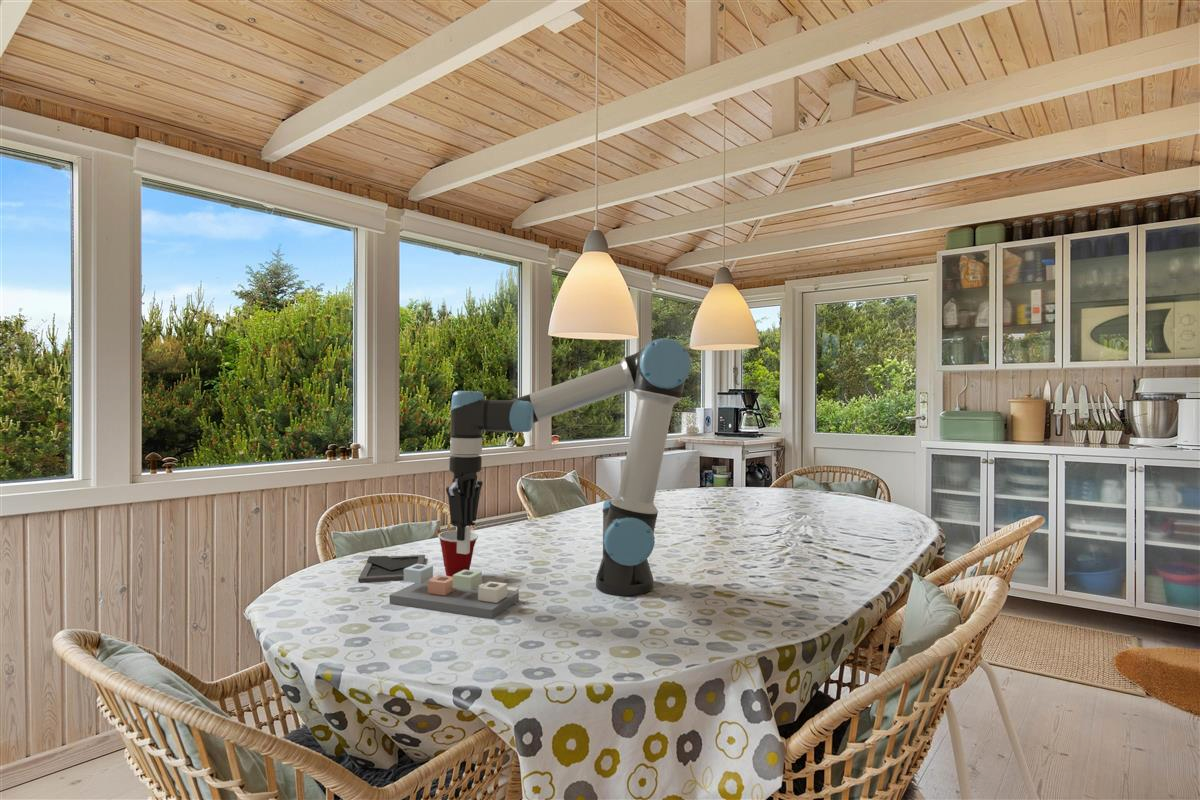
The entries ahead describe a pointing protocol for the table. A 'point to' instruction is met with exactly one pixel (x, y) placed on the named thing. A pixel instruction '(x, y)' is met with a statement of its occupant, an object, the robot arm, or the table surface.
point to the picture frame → (388, 567)
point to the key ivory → (492, 592)
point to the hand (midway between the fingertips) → (463, 552)
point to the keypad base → (453, 600)
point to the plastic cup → (455, 552)
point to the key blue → (418, 573)
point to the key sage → (467, 579)
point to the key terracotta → (441, 585)
